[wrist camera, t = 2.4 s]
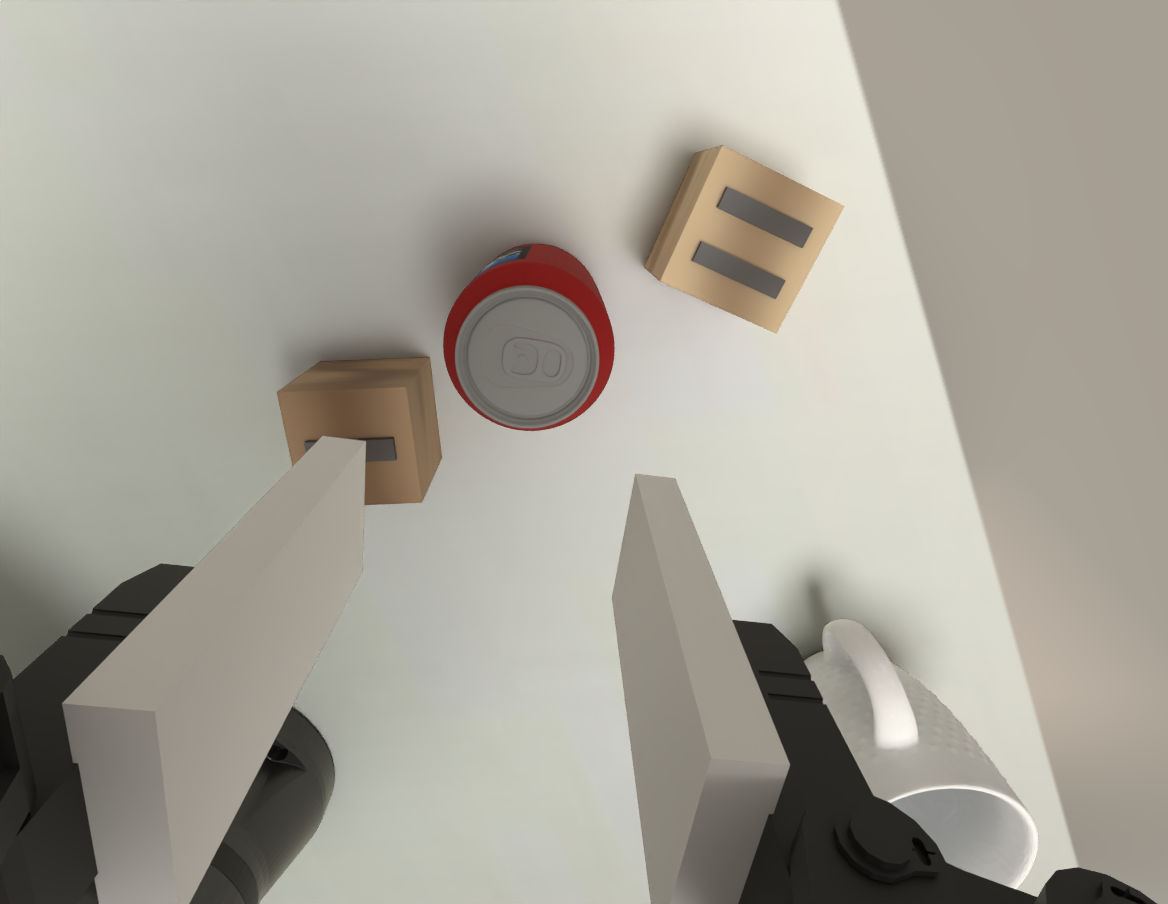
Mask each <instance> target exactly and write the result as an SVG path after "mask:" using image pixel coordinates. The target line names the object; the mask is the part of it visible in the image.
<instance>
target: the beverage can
mask: <svg viewBox="0 0 1168 904" xmlns="http://www.w3.org/2000/svg"><path fill="white" fill-rule="evenodd" d="M443 348H444V358H445V363H446V367H447V370H448V373H449V376H450V378H451V381H452V382H453V384H454V386H455V388H456V390H457V391H458V393H459V394H460V395H461V397H462V398H463V399H464V400H465V401H466V403H467V404H468V405H469V406H470V407H471V408H473V409H474V410H475V411H476V412H477V413H479V414H480V415H482V416H483V417H485V418H486V419H488V420H490V421H492V422H494V423H496V424H498V425H501V426H504V427H507V428H511V429H516V430H524V431H537V430H545V429H550V428H554V427H557V426H561V425H563V424H565V423H568V422H570V421H571V420H573V419H575V418H577V417H578V416H580V415H581V414H582V413H584V412H585V411H586V410H587V409H588V408H589V407H590V406H591V405H592V404H593V403H594V402H595V401H596V400H597V398H598V397H599V396H600V394H601V393H602V391H603V389H604V388H605V386H606V384H607V381H608V379H609V377H610V373H611V370H612V366H613V361H614V336H613V331H612V326H611V323H610V320H609V317H608V314H607V311H606V308H605V305H604V302H603V300H602V298H601V295H600V293H599V290H598V288H597V286H596V284H595V282H594V280H593V278H592V276H591V275H590V273H589V272H588V270H587V269H586V268H585V267H584V265H583V264H582V263H581V262H580V261H579V260H577V259H576V258H575V257H574V256H572V255H571V254H569V253H568V252H566V251H564V250H562V249H559V248H557V247H553V246H549V245H544V244H528V245H522V246H518V247H515V248H512V249H510V250H508V251H506V252H504V253H502V254H501V255H500V256H498V257H497V258H496V259H494V260H493V261H492V262H491V263H490V264H489V265H487V266H486V267H485V268H484V269H483V270H482V271H481V272H480V273H479V274H478V275H477V276H476V277H475V278H474V279H473V280H472V282H471V283H470V284H469V285H468V286H467V287H466V288H465V289H464V291H463V292H462V293H461V294H460V296H459V297H458V299H457V300H456V302H455V303H454V305H453V307H452V309H451V311H450V313H449V316H448V319H447V322H446V326H445V331H444V341H443Z"/></svg>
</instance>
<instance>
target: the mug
mask: <svg viewBox="0 0 1168 904" xmlns="http://www.w3.org/2000/svg"><path fill="white" fill-rule="evenodd" d="M822 640H823V650H824V651H821V652H819V653H816V654H814V655H812V656H810V657H809V658H807V659H806V660H804V662H805V664H806V666H807V668H808V670H809V672H810V674H811V681H814V682H815V684H816V686H817V687H818V689H819V691H820V693H821V695H822V697H823V704H826V705H827V707H828V709H829V711H830V713H831V714H832V716H833V718H834V720H835V722H836V724H837V726H838V728H839V730H840V732H841V734H842V736H843V738H844V739H845V741H846V743H847V745H848V747H849V749H850V751H851V753H852V755H853V757H854V759H855V761H856V763H857V765H858V766H859V768H860V770H861V772H862V774H863V776H864V778H865V780H866V782H867V784H868V786H869V788H870V790H871V792H872V793H873V795H874V796H876V797H878V798H880V799H883V800H885V801H888V802H890V803H891V804H893V805H894V806H895V807H897V808H898V809H900V810H901V811H902V812H904V813H905V814H907V815H908V816H909V817H911V818H912V819H914V820H915V821H916V822H917V823H918V824H919V825H920V826H921V828H922V829H923V830H924V831H925V832H926V833H927V834H928V835H929V836H930V837H931V838H932V840H933V841H934V842H935V843H936V844H937V846H938V848H939V850H940V852H941V853H942V855H943V857H944V859H945V861H946V863H949V864H951V865H953V866H955V867H957V868H960V869H962V870H964V871H967V872H969V873H972V874H975V875H978V876H980V877H983V878H986V879H989V880H991V881H994V882H997V883H1000V884H1002V885H1005V886H1008V887H1011V888H1013V889H1017V887H1018V886H1019V885H1020V884H1021V883H1022V881H1023V880H1024V879H1025V877H1026V876H1027V874H1028V873H1029V871H1030V869H1031V867H1032V865H1033V863H1034V860H1035V857H1036V854H1037V849H1038V833H1037V829H1036V825H1035V823H1034V820H1033V818H1032V817H1031V815H1030V813H1029V812H1028V810H1027V809H1026V808H1025V806H1024V805H1023V803H1022V802H1021V801H1020V799H1019V798H1018V797H1017V795H1016V794H1015V793H1014V791H1013V790H1012V788H1011V787H1010V786H1009V784H1008V783H1007V781H1006V779H1005V778H1004V777H1003V776H1002V775H1001V774H1000V772H999V771H998V769H997V768H996V766H995V764H994V763H993V762H992V761H991V760H990V758H989V757H988V756H987V755H986V754H985V753H984V752H983V750H982V748H981V747H980V746H979V744H978V743H977V741H976V740H975V739H974V738H973V737H972V736H971V735H970V734H969V733H968V731H967V730H966V728H965V727H964V726H963V725H962V723H961V722H960V721H959V720H958V719H956V718H955V717H954V715H953V714H952V712H951V711H950V709H948V708H947V706H945V705H944V704H942V703H941V702H940V700H939V699H938V698H937V696H936V695H934V694H933V693H932V692H931V691H929V690H928V689H926V688H925V686H924V685H923V684H922V683H921V682H920V681H918V680H916V679H914V678H913V677H912V676H911V675H910V674H909V673H908V672H906V671H904V670H902V669H900V668H899V667H898V666H897V665H895V664H893V663H891V662H890V660H889V658H888V656H887V655H886V653H885V652H884V650H883V649H882V647H881V646H880V644H879V643H878V642H877V640H876V639H875V638H874V637H873V635H872V634H871V633H870V632H869V631H868V630H867V629H866V628H865V627H864V626H863V625H861V624H860V623H858V622H856V621H854V620H850V619H840V620H835V621H832V622H830V623H828V624H827V625H826V626H825V627H824V629H823V635H822Z"/></svg>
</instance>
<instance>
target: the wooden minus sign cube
mask: <svg viewBox="0 0 1168 904" xmlns="http://www.w3.org/2000/svg"><path fill="white" fill-rule="evenodd" d="M277 396H278V400H279V405H280V410H281V414H282V419H283V424H284V428H285V433H286V438H287V442H288V447H289V452H290V456H291V461H292V466H294V465H295V464H296V463H297V462H298V461H299V460H300V459H301V458H302V457H303V456H304V455H305V454H306V453H307V451H308V450H309V449H310V448H311V447H312V446H313V445H314V444H315V443H316V442H317V441H318V440H319V439H320V438H321V437H322V436H328V437H336V438H345V439H353V440H361V441H366V458H365V498H364V505H376V504H400V503H422V501H423V499H424V497H425V495H426V492H427V490H428V488H429V486H430V483H431V481H432V479H433V477H434V474H435V472H436V470H437V468H438V465H439V463H440V461H441V459H442V454H441V446H440V438H439V430H438V421H437V413H436V405H435V397H434V388H433V380H432V372H431V364H430V357H422V358H396V359H370V360H344V361H320V362H319V363H317V364H316V365H315V366H313V367H312V368H310V369H309V370H307V371H306V372H305V373H303V374H302V375H300V376H299V377H298V378H296V379H295V380H293V381H292V382H291V383H289V384H288V385H286V386H285V387H283V388H282V389H281V390H279V391H278V392H277Z"/></svg>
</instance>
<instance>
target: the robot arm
mask: <svg viewBox="0 0 1168 904" xmlns="http://www.w3.org/2000/svg"><path fill="white" fill-rule="evenodd" d="M365 458H366V441H361V440H353V439H345V438H336V437H328V436H322V437H321V438H320V439H319V440H318V441H317V442H316V443H315V444H314V445H313V446H312V447H311V448H310V449H309V450H308V451H307V453H306V454H305V455H304V456H303V457H302V458H301V459H300V460H299V461H298V462H297V463H296V464H295V465H294V466H293V467H292V468H291V469H290V470H289V471H288V472H287V473H286V474H285V475H284V476H283V477H282V478H281V479H280V480H279V481H278V482H277V483H276V484H275V485H274V486H273V487H272V488H271V489H270V490H269V492H268V493H267V494H266V495H265V496H264V497H263V498H262V499H261V500H260V501H259V502H258V503H257V504H256V505H255V506H254V507H253V508H252V509H251V510H250V511H249V512H248V513H247V514H246V515H245V516H244V517H243V518H242V519H241V520H240V521H239V522H238V523H237V524H236V525H235V526H234V527H233V528H232V529H231V531H230V532H229V533H228V534H227V535H226V536H225V537H224V538H223V539H222V540H221V541H220V542H219V543H218V544H217V545H216V546H215V547H214V548H213V549H212V550H211V551H210V552H209V553H208V554H207V555H206V556H205V557H204V558H203V559H202V560H201V561H200V562H199V563H198V564H197V565H196V566H195V567H189V566H180V565H170V564H159V565H157V566H155V567H153V568H151V569H149V570H147V571H145V572H143V573H141V574H139V575H137V576H135V577H133V578H131V579H129V580H127V581H125V582H123V583H121V584H120V585H119V586H118V587H117V588H115V589H114V590H113V591H112V592H111V593H110V594H109V595H108V596H106V597H105V598H104V599H103V600H102V601H101V602H100V603H99V604H97V605H96V606H95V607H94V608H93V611H92V613H91V614H86V615H85V616H84V617H83V618H82V619H81V620H79V621H78V622H77V623H76V624H75V625H74V626H73V627H72V628H71V629H69V630H68V634H67V636H66V637H65V636H62V637H60V638H59V639H58V640H57V641H56V642H55V643H54V644H53V645H51V646H50V647H49V648H48V649H47V650H46V651H45V652H44V653H42V654H41V655H40V656H39V657H38V658H37V659H36V660H35V661H33V662H32V663H31V664H30V665H29V666H28V667H27V668H26V669H25V670H23V671H22V672H21V673H20V674H19V675H18V676H17V677H16V678H14V679H12V674H11V671H10V669H9V667H8V665H7V663H6V661H5V659H4V657H3V656H2V655H0V904H259V903H260V901H261V899H262V898H263V897H264V896H265V895H266V893H267V892H268V891H269V890H270V888H271V887H272V886H273V885H274V883H275V882H276V881H277V880H278V879H279V877H280V876H281V875H282V874H283V872H284V871H285V870H286V869H287V867H288V866H289V865H290V864H291V862H292V861H293V860H294V859H295V858H296V856H297V855H298V854H299V853H300V851H301V850H302V849H303V848H304V846H305V845H306V844H307V843H308V841H309V840H310V839H311V838H312V836H313V835H314V833H315V832H316V830H317V828H318V827H319V825H320V823H321V821H322V818H323V815H324V813H325V810H326V808H327V805H328V802H329V800H330V797H331V795H332V791H333V787H334V766H333V762H332V758H331V755H330V753H329V750H328V748H327V746H326V744H325V743H324V741H323V739H322V738H321V736H320V735H319V734H318V732H317V731H316V730H315V729H314V728H313V727H312V726H311V724H309V723H308V722H307V721H306V720H305V719H304V718H303V717H302V716H301V715H299V714H298V713H297V712H295V711H294V710H293V709H291V708H292V706H293V704H294V702H295V700H296V698H297V696H298V694H299V692H300V690H301V689H302V687H303V685H304V683H305V681H306V679H307V677H308V675H309V673H310V671H311V669H312V667H313V665H314V664H315V662H316V660H317V658H318V656H319V654H320V652H321V650H322V648H323V646H324V644H325V642H326V641H327V639H328V637H329V635H330V633H331V631H332V629H333V627H334V625H335V623H336V621H337V619H338V618H339V616H340V614H341V612H342V610H343V608H344V606H345V604H346V602H347V600H348V598H349V596H350V595H351V593H352V591H353V589H354V587H355V585H356V583H357V581H358V579H359V577H360V575H361V573H362V571H363V537H364V498H365ZM612 602H613V610H614V617H615V625H616V633H617V641H618V649H619V657H620V665H621V672H622V680H623V688H624V696H625V704H626V712H627V720H628V727H629V735H630V743H631V751H632V759H633V767H634V775H635V782H636V790H637V798H638V806H639V814H640V822H641V829H642V837H643V845H644V853H645V861H646V869H647V877H648V884H649V892H650V900H651V904H1156V903H1155V902H1154V901H1152V900H1151V899H1150V898H1148V897H1147V896H1146V895H1144V894H1143V893H1141V892H1140V891H1138V890H1136V889H1134V888H1132V887H1130V886H1128V885H1126V884H1124V883H1122V882H1120V881H1118V880H1116V879H1114V878H1112V877H1110V876H1108V875H1106V874H1102V873H1098V872H1094V871H1090V870H1086V869H1082V868H1071V869H1064V870H1057V871H1056V872H1055V873H1054V874H1053V875H1052V877H1051V878H1050V879H1049V880H1048V881H1047V883H1046V884H1045V886H1044V887H1043V889H1042V891H1041V892H1040V894H1039V896H1038V897H1035V896H1032V895H1030V894H1027V893H1024V892H1022V891H1019V890H1016V889H1013V888H1011V887H1008V886H1005V885H1002V884H1000V883H997V882H994V881H991V880H989V879H986V878H983V877H980V876H978V875H975V874H972V873H969V872H967V871H964V870H962V869H960V868H957V867H955V866H953V865H951V864H949V863H946V861H945V859H944V857H943V855H942V853H941V852H940V850H939V848H938V846H937V844H936V843H935V842H934V841H933V840H932V838H931V837H930V836H929V835H928V834H927V833H926V832H925V831H924V830H923V829H922V828H921V826H920V825H919V824H918V823H917V822H916V821H915V820H914V819H912V818H911V817H909V816H908V815H907V814H905V813H904V812H902V811H901V810H900V809H898V808H897V807H895V806H894V805H893V804H891V803H890V802H888V801H885V800H883V799H880V798H878V797H876V796H874V795H873V793H872V792H871V790H870V788H869V786H868V784H867V782H866V780H865V778H864V776H863V774H862V772H861V770H860V768H859V766H858V765H857V763H856V761H855V759H854V757H853V755H852V753H851V751H850V749H849V747H848V745H847V743H846V741H845V739H844V738H843V736H842V734H841V732H840V730H839V728H838V726H837V724H836V722H835V720H834V718H833V716H832V714H831V713H830V711H829V709H828V707H827V705H826V704H823V697H822V695H821V693H820V691H819V689H818V687H817V686H816V684H815V682H814V681H811V674H810V672H809V670H808V668H807V666H806V664H805V662H804V660H803V659H802V657H801V655H800V653H799V651H798V649H797V648H796V647H795V646H794V645H793V644H792V643H791V642H790V641H789V640H788V639H787V638H786V637H785V636H784V635H783V634H782V633H781V632H780V631H779V630H777V629H776V628H775V627H774V626H773V625H772V624H767V623H757V622H748V621H738V620H732V619H731V616H730V614H729V611H728V609H727V606H726V604H725V601H724V599H723V596H722V594H721V591H720V589H719V586H718V584H717V581H716V579H715V576H714V574H713V571H712V569H711V566H710V564H709V561H708V559H707V556H706V554H705V551H704V549H703V546H702V544H701V541H700V539H699V536H698V534H697V531H696V529H695V526H694V524H693V521H692V519H691V516H690V514H689V511H688V509H687V506H686V504H685V502H684V499H683V497H682V494H681V492H680V489H679V487H678V484H677V482H676V479H675V478H667V477H659V476H650V475H642V474H635V478H634V484H633V489H632V494H631V499H630V505H629V510H628V515H627V521H626V526H625V531H624V536H623V542H622V547H621V552H620V557H619V563H618V568H617V573H616V579H615V584H614V589H613V594H612Z"/></svg>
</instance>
